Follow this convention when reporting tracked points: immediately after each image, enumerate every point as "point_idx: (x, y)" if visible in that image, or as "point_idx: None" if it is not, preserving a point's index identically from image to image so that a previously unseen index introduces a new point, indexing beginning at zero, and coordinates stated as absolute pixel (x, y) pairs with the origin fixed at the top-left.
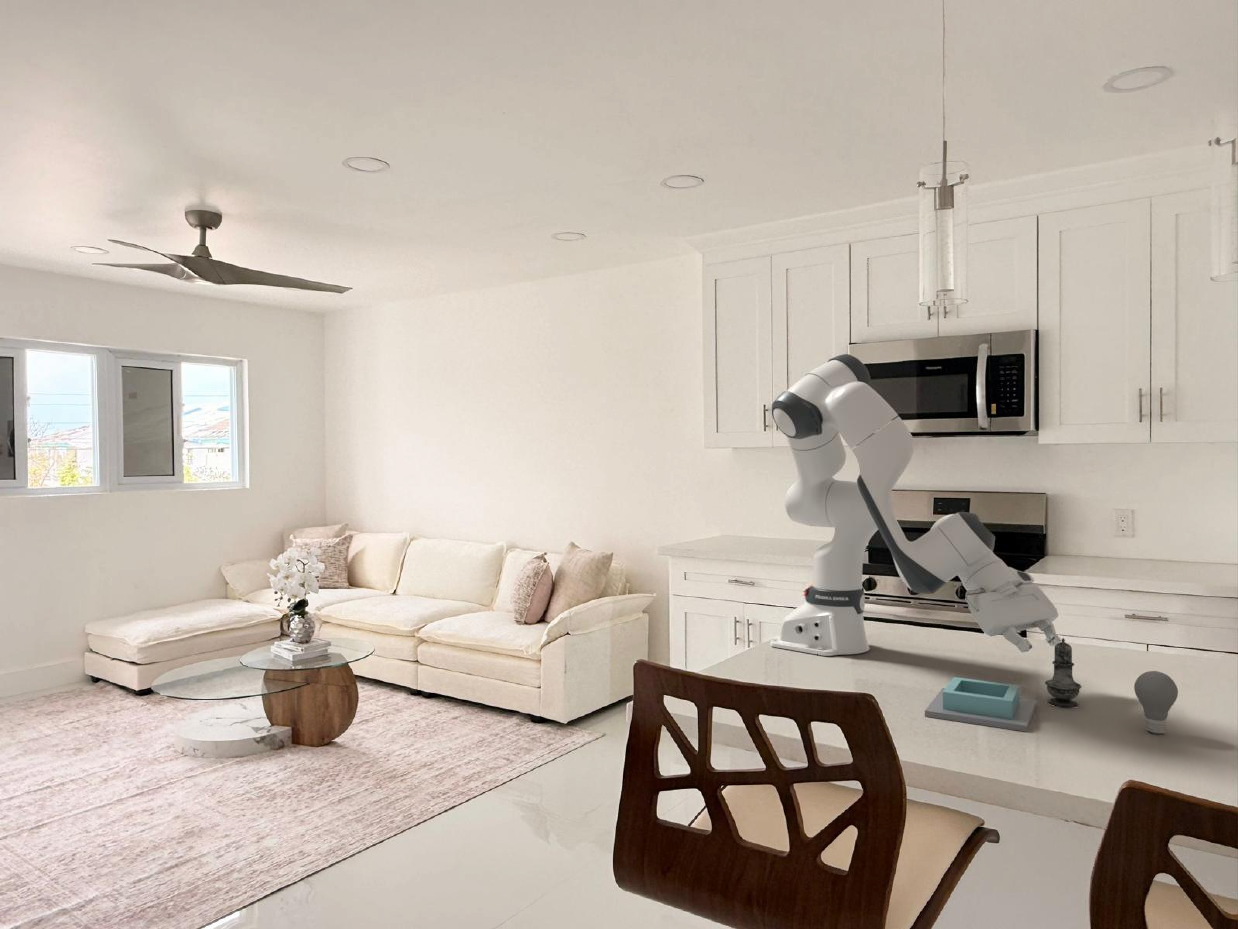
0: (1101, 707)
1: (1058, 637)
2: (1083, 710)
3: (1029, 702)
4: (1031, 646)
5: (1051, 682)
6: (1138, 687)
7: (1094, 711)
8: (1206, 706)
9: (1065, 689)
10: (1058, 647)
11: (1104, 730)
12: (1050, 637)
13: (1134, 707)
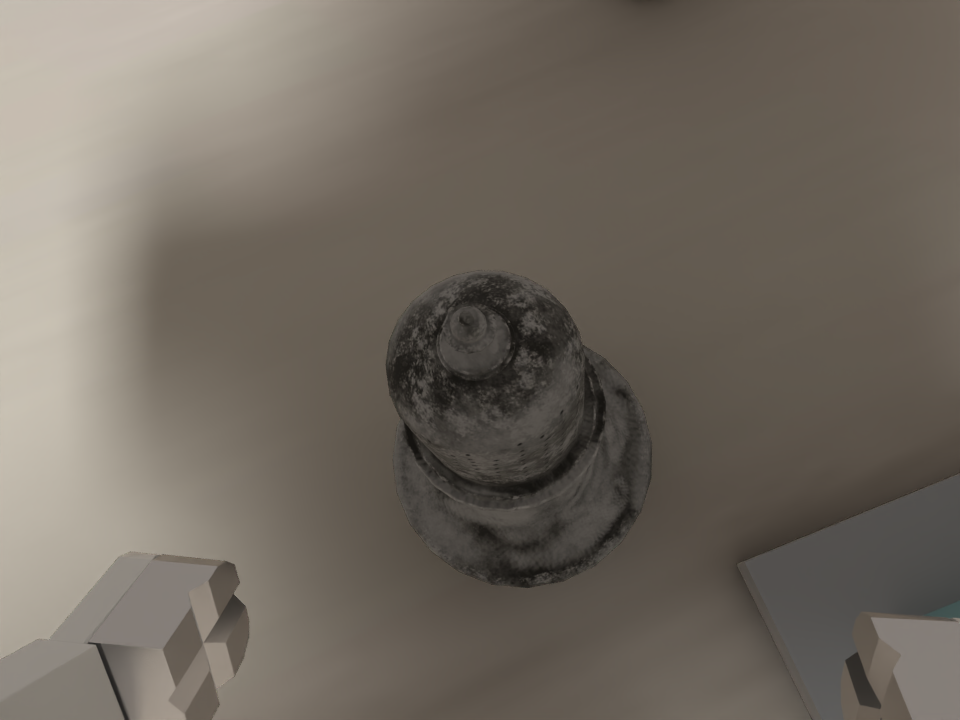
0: None
1: (119, 578)
2: None
3: (834, 571)
4: (887, 615)
5: (599, 504)
6: None
7: None
8: (24, 39)
9: (627, 383)
10: (577, 368)
11: (833, 108)
12: (190, 660)
13: (280, 206)
